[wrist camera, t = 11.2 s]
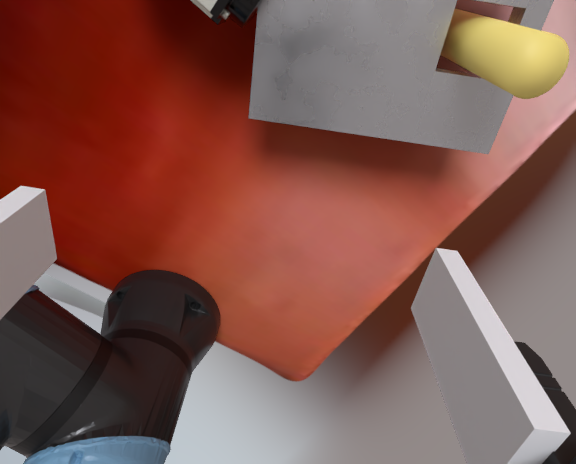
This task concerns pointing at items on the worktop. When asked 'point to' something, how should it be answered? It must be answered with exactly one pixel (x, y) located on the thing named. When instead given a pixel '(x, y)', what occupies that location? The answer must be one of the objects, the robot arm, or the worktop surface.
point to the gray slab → (376, 71)
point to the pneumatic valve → (229, 10)
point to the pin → (506, 53)
